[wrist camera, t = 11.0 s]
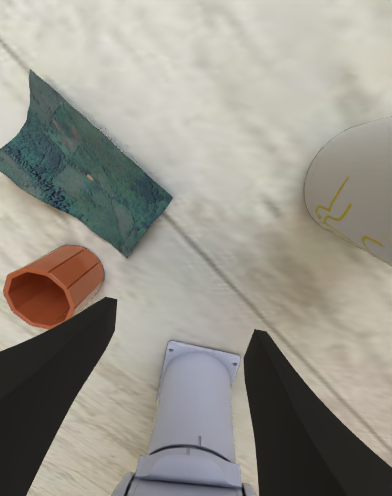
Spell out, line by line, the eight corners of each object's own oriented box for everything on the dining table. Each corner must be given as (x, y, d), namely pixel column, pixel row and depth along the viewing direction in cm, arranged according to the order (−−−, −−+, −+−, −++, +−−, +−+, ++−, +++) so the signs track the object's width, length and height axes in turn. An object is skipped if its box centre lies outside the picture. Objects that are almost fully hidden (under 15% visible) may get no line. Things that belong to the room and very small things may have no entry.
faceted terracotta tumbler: (105, 298, 22) (74, 335, 18) (51, 287, 22) (6, 320, 18) (107, 251, 20) (74, 277, 16) (49, 238, 20) (-2, 261, 16)
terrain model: (179, 194, 18) (175, 198, 16) (128, 256, 21) (119, 266, 19) (43, 73, 16) (21, 62, 14) (6, 161, 18) (-16, 161, 17)
